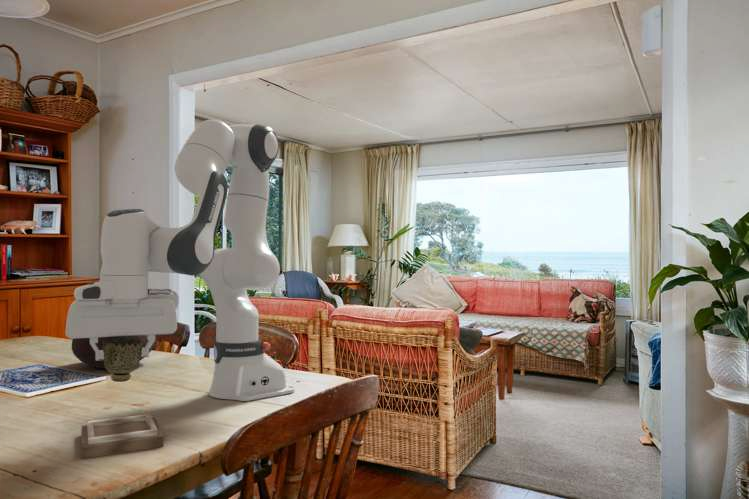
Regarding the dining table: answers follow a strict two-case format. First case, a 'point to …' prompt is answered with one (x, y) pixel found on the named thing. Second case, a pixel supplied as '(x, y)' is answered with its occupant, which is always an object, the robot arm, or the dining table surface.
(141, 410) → the dining table surface
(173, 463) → the dining table surface
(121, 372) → the cup
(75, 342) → the jug
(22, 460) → the dining table surface
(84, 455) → the plate
